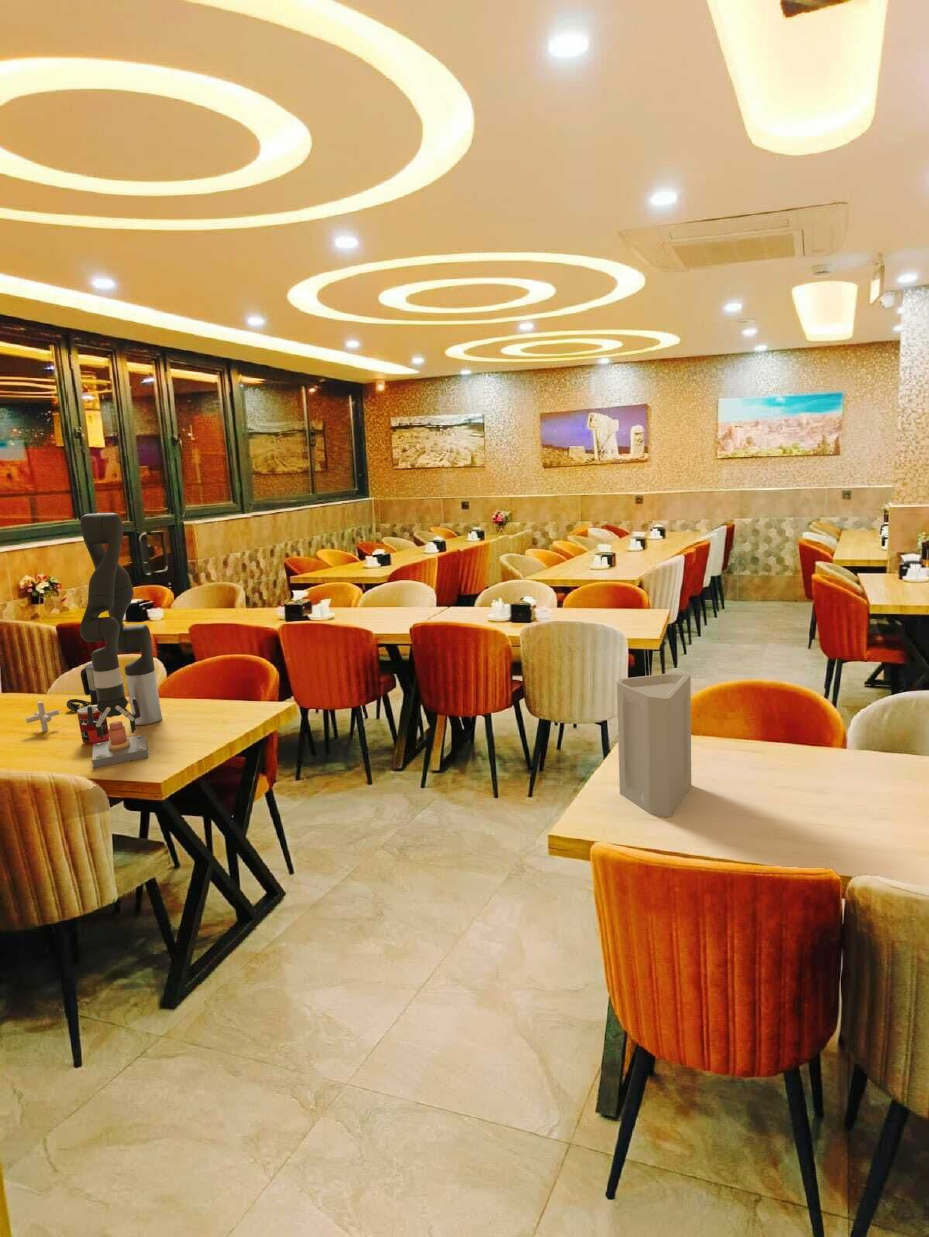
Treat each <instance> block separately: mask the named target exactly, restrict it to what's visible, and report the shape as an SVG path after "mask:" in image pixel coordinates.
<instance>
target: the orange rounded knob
mask: <svg viewBox="0 0 929 1237" xmlns="http://www.w3.org/2000/svg"><path fill="white" fill-rule="evenodd" d="M108 727H109V728H108V731H109V741H110V742H111V745H119V744H123V743H125V742H127V738H128V737H127V732H126V726H124V724H123V721H120V720H116V721H112V722H111V723H109V724H108Z"/></svg>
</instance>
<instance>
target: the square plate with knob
mask: <svg viewBox="0 0 929 1237" xmlns="http://www.w3.org/2000/svg"><path fill="white" fill-rule="evenodd" d="M147 758H149V752H148V745H147V739H146V734H141V735H135V736H128V737H127V742H125V743H123V744H119V745H111V742H110V740H108V741H106V742H102V743H96V744H93V745H92V758H91V759H92V760H91V761H92V767H93V769H96V768H95V767H97V768H101V767H106V765H107V766H111V765H110V764H112V765H115V764H116V765H117V764H120V763H121V764H122V762H123V763H126V762H127V761H128V762H131V761H130V760H133V761H137V760H142V759H147Z"/></svg>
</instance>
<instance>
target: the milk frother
mask: <svg viewBox="0 0 929 1237" xmlns="http://www.w3.org/2000/svg"><path fill="white" fill-rule="evenodd" d="M80 678H81V679H80V680H81V683H82V687H83V693H84V695H85V696H90V697H89V698H90V701H86V700H83V699H78V698H72V699H68V700H67V701H66V707H67V709H69V710H71V711H74V712H77V710H78V709H80V708H83V707H86V706H88V704H90V705H97V704H98V699H97V693H96V687H95V681H94V670H93V664H92V663H89V664H86V665H85V666H84V667H83V668H82V669H81V671H80ZM77 703H78V704H77ZM80 704H81V705H83V706H81V705H80Z"/></svg>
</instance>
